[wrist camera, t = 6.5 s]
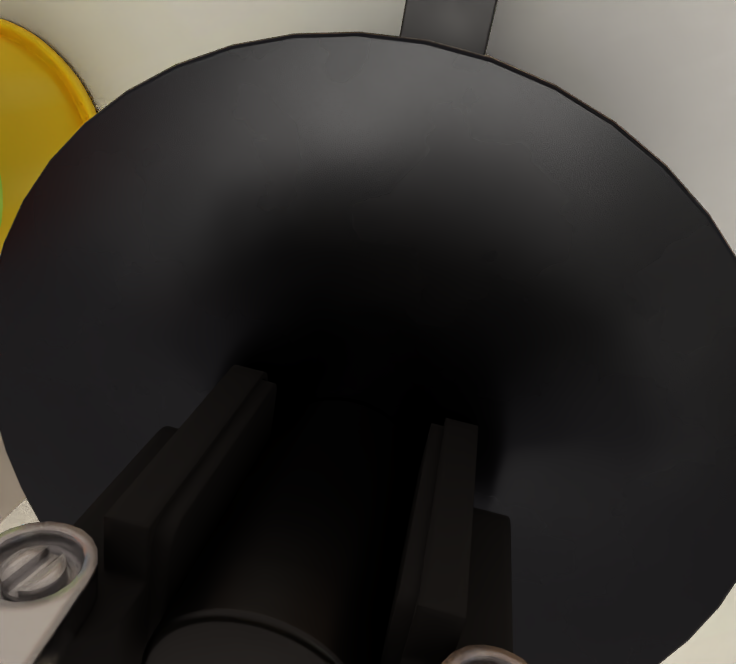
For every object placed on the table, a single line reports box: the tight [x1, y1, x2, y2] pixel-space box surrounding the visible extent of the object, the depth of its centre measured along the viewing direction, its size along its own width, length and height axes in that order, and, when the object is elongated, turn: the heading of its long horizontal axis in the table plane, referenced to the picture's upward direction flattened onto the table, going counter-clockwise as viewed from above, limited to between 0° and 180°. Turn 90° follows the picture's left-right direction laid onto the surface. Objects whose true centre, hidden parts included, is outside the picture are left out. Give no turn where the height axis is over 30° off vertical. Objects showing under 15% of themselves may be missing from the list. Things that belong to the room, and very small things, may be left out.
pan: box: [400, 0, 498, 57], centre depth 23 cm, size 12×18×8 cm
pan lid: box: [0, 32, 736, 664], centre depth 9 cm, size 13×13×6 cm
